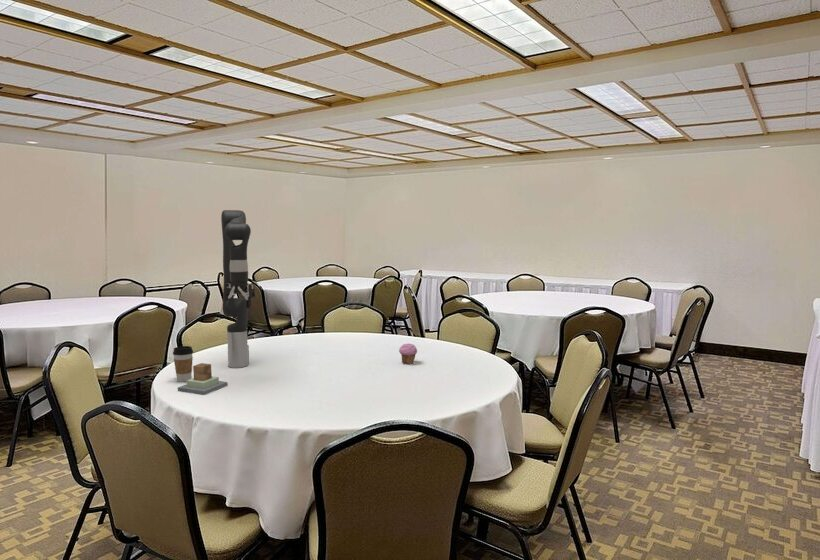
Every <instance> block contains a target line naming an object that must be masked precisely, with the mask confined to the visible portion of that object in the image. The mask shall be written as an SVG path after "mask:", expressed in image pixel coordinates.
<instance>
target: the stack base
mask: <svg viewBox="0 0 820 560" xmlns="http://www.w3.org/2000/svg"><path fill="white" fill-rule="evenodd" d="M228 385H229V384H228V382H227V381H222V380H219V376H213V375H212V378H210V379H208V380H205V381H198V380H194V377H191V379H190V380H187V382H186V384H183V385H180V386H178V387H177V392H183V393H191V394H196V395H203V396H205V395H208V394H210V393H212V392H215V391H217V390H220V389H222V387H223V388H225V387H228Z"/></svg>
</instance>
